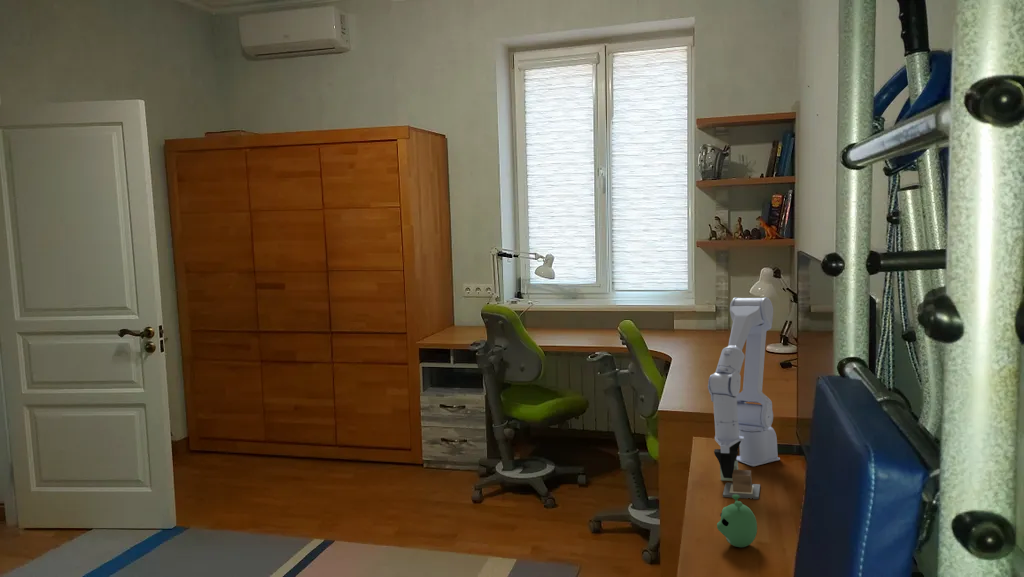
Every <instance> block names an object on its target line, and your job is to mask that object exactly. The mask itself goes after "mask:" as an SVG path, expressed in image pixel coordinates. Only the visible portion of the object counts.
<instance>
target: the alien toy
mask: <svg viewBox="0 0 1024 577" xmlns="http://www.w3.org/2000/svg"><path fill="white" fill-rule="evenodd" d="M731 498H732V499H734V503H731V504H729V505H727V506H724V507H723V508H722V510H721V513H720V515H719V516H720V520H719V521H718V522H717V523H716V528H717V530H718V531H719V532H720V533H721V534H722V535H723V536H724V538H726V542H727V543H729V544H730V545H731V546H733V547H737V548H746V547H748V546H750V545H751V544H753V542H754V540H755V539H756V536H757V532H758V522H757V519H756V515H755V514H754V513H753V511H752V510H751V508H750V507H748V506H747V505H746V504H743V502H742V501H740V500H739V499H741V498H740V496H739V495H733V496H732V497H731Z"/></svg>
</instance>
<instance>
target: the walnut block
mask: <svg viewBox="0 0 1024 577" xmlns="http://www.w3.org/2000/svg"><path fill="white" fill-rule="evenodd" d="M732 479H733V481H732V483H733V492H749V493H751V490H752V484H753V482H752V481H753V480H752V479H753V478H752V470H750V469H738V470H733V474H732Z"/></svg>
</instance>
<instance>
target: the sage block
mask: <svg viewBox="0 0 1024 577" xmlns="http://www.w3.org/2000/svg"><path fill="white" fill-rule="evenodd" d="M719 470H720V471H719V472H720V473H719V474H720V481H726V482H727V481H729V482H733V479H732V478H724V477H723V474H722V470H721V467H720V466H719ZM734 470H739V461H737V460H736V461H735V463H734Z"/></svg>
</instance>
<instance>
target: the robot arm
mask: <svg viewBox="0 0 1024 577" xmlns="http://www.w3.org/2000/svg"><path fill="white" fill-rule="evenodd" d="M729 315H730V318H731V321H732V324H731V331H730V335H729V339H728V345H727V346H726V347H723V348H722V350H721V353H720V356H719V359H718V361H717V362H718V363H717V365H716V369H715V372H713V373H712V374H710V376H709V378H708V381H707V382H708V384H707V390H708V393H709V395H710V401H711V402H712V403H713V416H714V419H713V420H714V432H715V435H714V441H715V442H716V443H717V444H718V446H719V447H720V448H715V449H714V451H713V452H714V453H713V454H714V456H715V457H716V458H717V461H718V463H719V468H720V467H721V470H722V474H723V477H724V478H732V474H733V470H734V463H735V461H738V462H740V463H742V464H745V465H747V466H750V467H756V466H757V467H758V466H760V465H764V464H768V463H773V462H777V461H780V460H781V458H780V457H778V454H779V453H778V439H777V434H776V431H775V429H774V428H773V426H772V424H773V421H774V411H773V402H772V400H771V399H770V398H769V397H768V396H767V395H766V394H765V393H764V392H763V385H764V384H763V383H764V382H763V381H764V370H765V368H764V367H765V356H766V355H765V354H766V342H767V340H766V339H767V331H770V330H771V329H772V328H773V327H772V326H773V320H774V319H773V318H774V306H773V303H772V300H771V299H770V298H769V297H768V296H763V297H738V296H737V297H736V296H735V297H733V298H732V300H731V301H730V304H729ZM745 343H746V344H745ZM744 346H745V353H744V352H743V349H744ZM743 363H744V364H743ZM743 365H744V370H743V371H744V372H743V381H742V382H743V384H742V390H741V379H742V375H741V370H742V367H743ZM740 390H741V392H740ZM738 450H739V451H738ZM738 454H739V455H738Z"/></svg>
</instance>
